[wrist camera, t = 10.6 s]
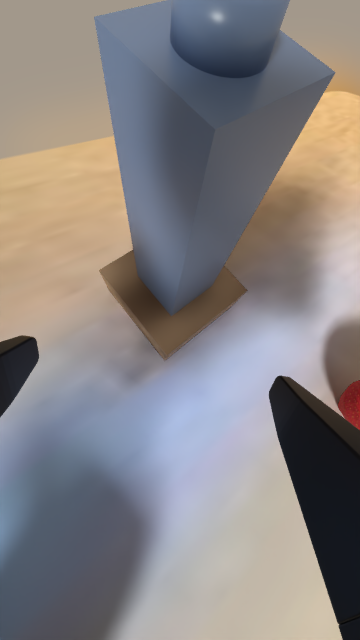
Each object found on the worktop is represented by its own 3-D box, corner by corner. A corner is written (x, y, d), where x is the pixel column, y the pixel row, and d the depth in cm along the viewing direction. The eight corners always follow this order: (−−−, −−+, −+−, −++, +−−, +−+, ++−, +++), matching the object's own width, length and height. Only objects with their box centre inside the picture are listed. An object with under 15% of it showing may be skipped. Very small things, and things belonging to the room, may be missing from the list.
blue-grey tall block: (211, 285, 18) (372, 9, 5) (171, 316, 17) (231, 60, 3) (178, 249, 19) (236, -84, 5) (137, 275, 17) (80, -67, 4)
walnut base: (231, 306, 22) (247, 290, 18) (164, 360, 20) (166, 355, 16) (177, 246, 23) (181, 220, 20) (109, 290, 21) (99, 270, 17)
